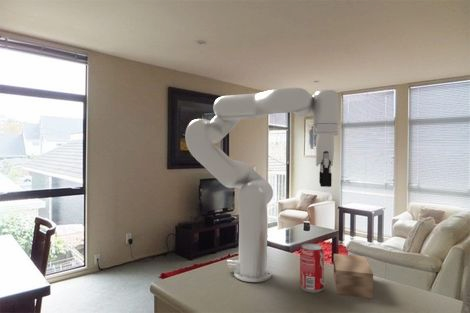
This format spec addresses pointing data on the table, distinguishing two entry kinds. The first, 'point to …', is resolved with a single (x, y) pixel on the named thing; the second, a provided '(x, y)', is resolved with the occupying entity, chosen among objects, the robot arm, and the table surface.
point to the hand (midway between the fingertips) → (325, 185)
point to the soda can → (312, 268)
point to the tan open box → (353, 276)
